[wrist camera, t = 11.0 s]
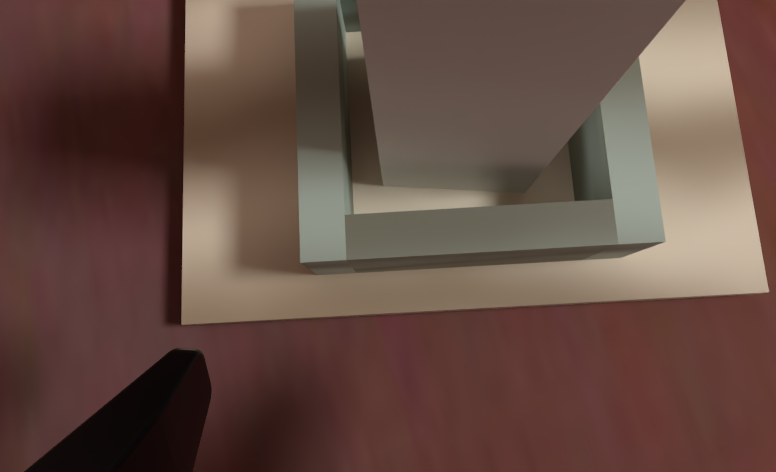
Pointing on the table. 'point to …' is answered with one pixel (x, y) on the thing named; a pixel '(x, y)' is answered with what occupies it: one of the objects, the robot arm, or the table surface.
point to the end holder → (447, 206)
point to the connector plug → (492, 82)
